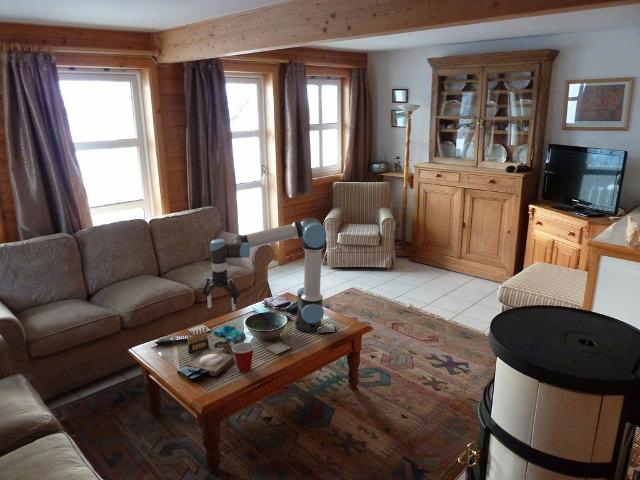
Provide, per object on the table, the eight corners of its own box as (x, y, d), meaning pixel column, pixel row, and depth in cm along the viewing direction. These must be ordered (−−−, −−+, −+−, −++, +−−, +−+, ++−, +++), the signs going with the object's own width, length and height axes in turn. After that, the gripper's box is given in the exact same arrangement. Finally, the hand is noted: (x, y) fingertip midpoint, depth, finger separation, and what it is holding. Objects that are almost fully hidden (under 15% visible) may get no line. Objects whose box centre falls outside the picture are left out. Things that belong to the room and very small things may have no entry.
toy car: (231, 344, 255) (230, 333, 254) (211, 334, 267) (210, 323, 265) (247, 337, 263) (246, 326, 261) (227, 327, 275) (226, 317, 273)
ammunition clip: (189, 353, 246) (187, 332, 243) (188, 352, 248) (186, 330, 244) (209, 347, 252) (207, 326, 248) (207, 346, 253) (206, 325, 250)
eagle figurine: (223, 344, 253) (211, 348, 245) (229, 335, 250) (217, 339, 242) (231, 355, 250) (219, 359, 242) (238, 346, 247) (226, 350, 240)
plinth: (234, 360, 239) (234, 354, 238) (215, 376, 225) (215, 370, 224) (207, 354, 245) (207, 348, 244) (187, 369, 231) (187, 364, 230)
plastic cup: (248, 360, 238) (247, 339, 235) (260, 369, 230) (258, 347, 227) (229, 368, 232) (227, 345, 229) (240, 377, 224) (238, 354, 220)
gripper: (245, 269, 244) (247, 307, 250) (200, 265, 250) (203, 303, 256) (239, 274, 237) (241, 313, 243) (193, 270, 243) (196, 308, 249)
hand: (221, 308), depth 249 cm, fingers open, 13 cm apart
